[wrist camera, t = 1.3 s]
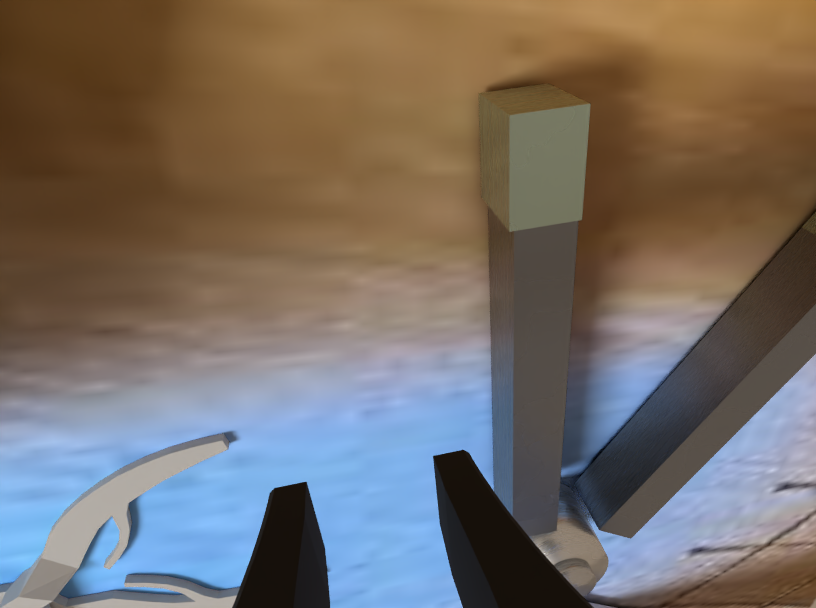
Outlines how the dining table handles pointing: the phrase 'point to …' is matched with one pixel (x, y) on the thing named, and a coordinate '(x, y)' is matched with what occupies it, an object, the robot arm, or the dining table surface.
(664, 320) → the dining table surface
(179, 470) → the pliers
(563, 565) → the tongs frame
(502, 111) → the arm
